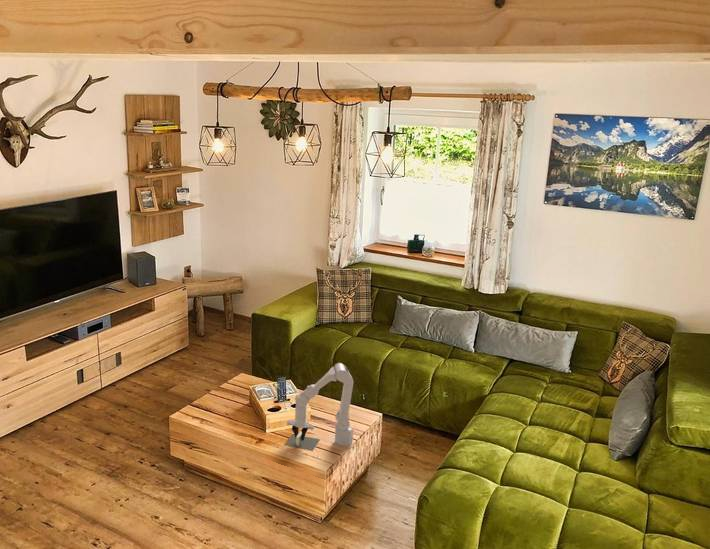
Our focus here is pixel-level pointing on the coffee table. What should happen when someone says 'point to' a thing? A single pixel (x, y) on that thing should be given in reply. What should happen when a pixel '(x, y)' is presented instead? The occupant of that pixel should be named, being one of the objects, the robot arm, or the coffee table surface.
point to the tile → (299, 439)
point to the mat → (303, 443)
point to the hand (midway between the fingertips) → (299, 439)
